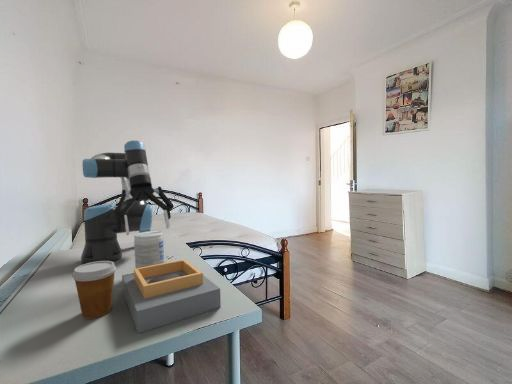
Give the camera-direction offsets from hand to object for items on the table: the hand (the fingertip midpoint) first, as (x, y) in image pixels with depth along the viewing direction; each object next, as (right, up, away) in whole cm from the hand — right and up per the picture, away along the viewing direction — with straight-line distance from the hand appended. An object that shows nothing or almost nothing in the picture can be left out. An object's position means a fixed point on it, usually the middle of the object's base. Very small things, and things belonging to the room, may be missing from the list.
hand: (148, 230), depth 93 cm
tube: (-19, -14, +41) cm, 47 cm away
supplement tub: (+1, -16, -1) cm, 16 cm away
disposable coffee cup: (-2, -17, -27) cm, 32 cm away
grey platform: (+13, -16, -18) cm, 28 cm away
